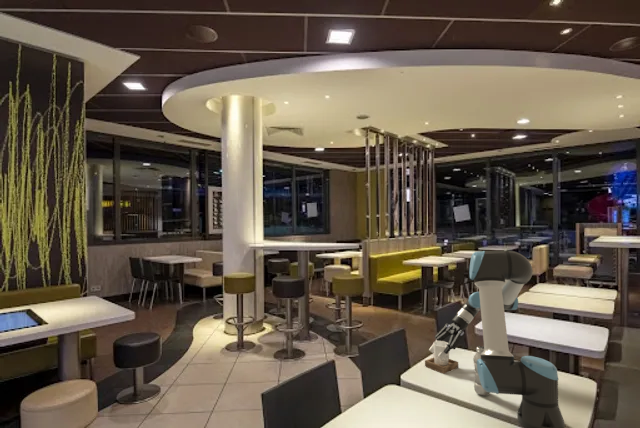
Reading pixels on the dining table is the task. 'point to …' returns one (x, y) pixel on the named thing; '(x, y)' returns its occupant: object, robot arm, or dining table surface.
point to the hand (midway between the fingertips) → (435, 354)
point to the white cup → (438, 348)
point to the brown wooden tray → (442, 369)
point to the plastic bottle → (477, 383)
